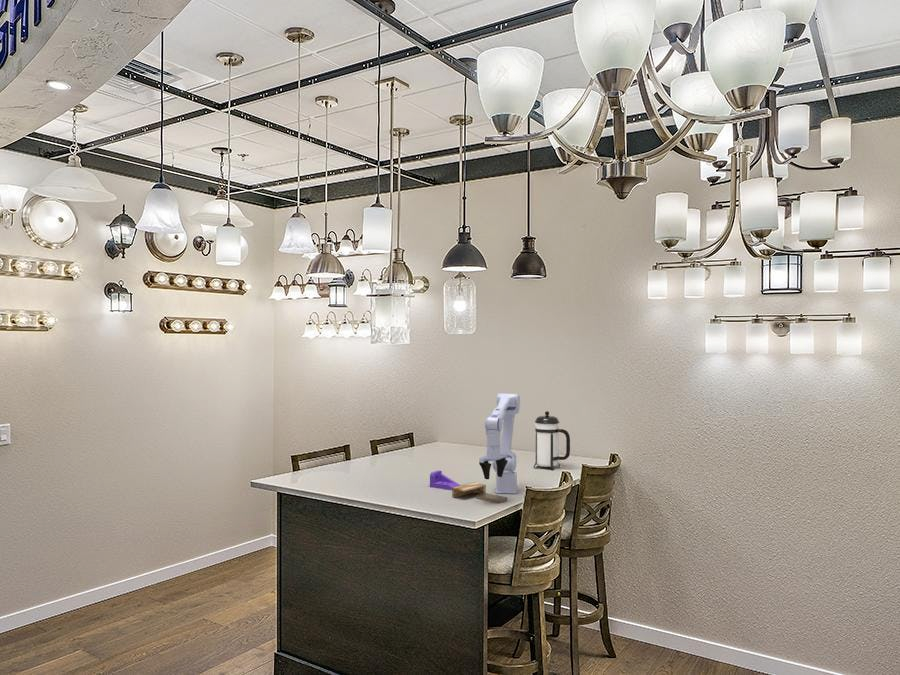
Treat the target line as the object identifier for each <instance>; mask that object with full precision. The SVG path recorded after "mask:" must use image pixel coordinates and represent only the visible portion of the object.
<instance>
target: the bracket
mask: <svg viewBox="0 0 900 675" xmlns="http://www.w3.org/2000/svg"><path fill="white" fill-rule="evenodd" d="M460 485H461V484H459V483H458V482H456V481H454V480H453V479H452V478H449V477H448V476H446V475H445V474H443V472H442V470H435V471H432V472H431V473H430V474H429V488H434V489H441V490H448V491H452V487H455V486H460Z"/></svg>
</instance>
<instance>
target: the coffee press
mask: <svg viewBox="0 0 900 675" xmlns="http://www.w3.org/2000/svg"><path fill="white" fill-rule="evenodd" d="M544 414H545V415H540V416H537V417H536V419H535V421H534V423H533V426H535V428H534V431H535V463H534V465H533V468H534V469H538V468H539V467H543V468H544V467H545V468H549V469H550V471H554V470H555V467H557V468H560V467H561V464H560V463H559V461H566V459H567V460H568V458H569V457H570V454H571V438H570V433H569V432H568V431H567V430H566V429H562V428H561V429H560V428H559V424H560V421H559V419H558V417H556V416H554V415H550V412H549V411H545V412H544ZM559 433H562V434H564V435H565V438H566V439H565V442H566V443H565V444H566V446H565V452H566V453H565V455H563V456H559V436H560V435H559Z"/></svg>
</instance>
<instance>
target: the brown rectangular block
mask: <svg viewBox="0 0 900 675" xmlns="http://www.w3.org/2000/svg"><path fill="white" fill-rule="evenodd" d="M459 485H460V486H455V487H452V490H451V493H452V495H451V497H452V498H458V497H462V496H465V495H469V494H470V495H471V494H477V495H479V494H483V493H487V491H486V490H487V485H486V484H484V483H481V482H475V481H474V482H470V483H464V484H459Z"/></svg>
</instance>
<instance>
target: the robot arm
mask: <svg viewBox="0 0 900 675" xmlns="http://www.w3.org/2000/svg"><path fill="white" fill-rule="evenodd" d="M496 405H497V407H495V408H493V410H492V411H491V414H490V416H487V417H486V418H485V422H484V429H485V436H486V454H485V455H484V456H480V457H479V458H478V459H479V460H478V464H479V466H480V467H481V471H482V473H483V477H484V479H485V480H490V474H491V473H490V471H491V466H492V469H493V470H494V472H495V473H496V474H495V476H496V477H495V481H496V482H495V483H496V484H495V488H494V490H495V491H494V493H495V494H518V472H516V468H517V455H516V453H515V452H513V450H512V442H513V436H514V435H513V434H514V433H513V432H514V426H515V425H514V424H515V417H516V415H517V414H519V413H520V408H521V407H520V406H521V396H520V394H519V393H501V392H499V393H497V395H496ZM501 431H502V432H501ZM491 462H492V463H491Z"/></svg>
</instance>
